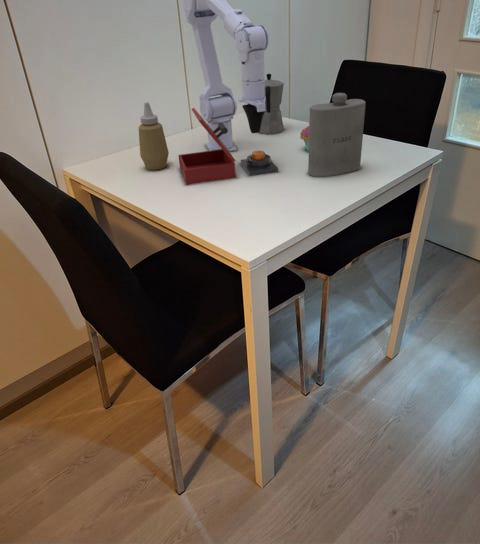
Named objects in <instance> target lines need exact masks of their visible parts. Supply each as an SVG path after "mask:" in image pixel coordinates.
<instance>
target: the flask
mask: <svg viewBox="0 0 480 544" xmlns="http://www.w3.org/2000/svg"><path fill="white" fill-rule="evenodd" d="M331 98H332V99H331V102H327V103H318V104H317V103H316V104H312V105H311V106H310V107H309V123H308V124H309V125H308V126H309V151H308V163H307V164H308V166H307V170H308V171H307V173H308V175H309V176H311V177H315V178H323V177H324V178H325V177H331V176H339V175H344V174H348V173H352V172H355V171H357V170H359V169H360V168H361V163H362V162H361V160H362V149H363V137H364V127H365V125H364V124H365V115H366V101H365V100H364V99H361V98H350V99H348V95H347V94H346V93H345V92H335V93H334V94H333V95H332V96H331Z"/></svg>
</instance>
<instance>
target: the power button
mask: <svg viewBox="0 0 480 544" xmlns="http://www.w3.org/2000/svg"><path fill="white" fill-rule="evenodd" d="M265 154H266V152H265V151H264V150H254V151H252V152H251V155H252V159H253V160H263V159H265Z"/></svg>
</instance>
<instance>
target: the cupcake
mask: <svg viewBox="0 0 480 544" xmlns="http://www.w3.org/2000/svg"><path fill="white" fill-rule="evenodd" d="M299 134H300V137H299V138H300V140H303V142H304V144H305V148H306V151H307V152H309V125H308V126H305V128H303V129H302V130H301V132H300V133H299Z"/></svg>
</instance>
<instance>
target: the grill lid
mask: <svg viewBox="0 0 480 544" xmlns="http://www.w3.org/2000/svg"><path fill="white" fill-rule="evenodd" d="M191 111H192V113H193V114H194V116H195V118H196V119H197V121H198V123H200V124H201V126H202V127H203V128H204V129H205V131H206V132H207V134H208V133H209V134H210V135H211V136H212V138H213V139H214V140H215V141H216V142H217V144H218V145H219V146H220V147H221V148H222V150H223V151H224V152H225V153H226V154H227V156H228V157H229V158H230V159H231V160H232V161H233V162H234V163H235V162H236V159H235V157H234V155H232V153H231V151H229V150H228V149H227V147H226V146H225V145H224V143H223V142H222V141H221V140H220V139H219V137H220V136H221V135H222V134H226V133H227V132H228V130H227V128H226V127H225V125H224V124H223V123H219V124H218V127H217V128H216V129H215V130H214V131H213V130H212V129H211V128H210V127H209V125H208V122H207V121H205V120H204V118H203V117H202V115H201V113H199V112H198V111H197V109H195V107H193V108H191ZM219 130H221V132H220V133H218V134H217V135H216V133H217V132H218V131H219Z"/></svg>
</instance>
